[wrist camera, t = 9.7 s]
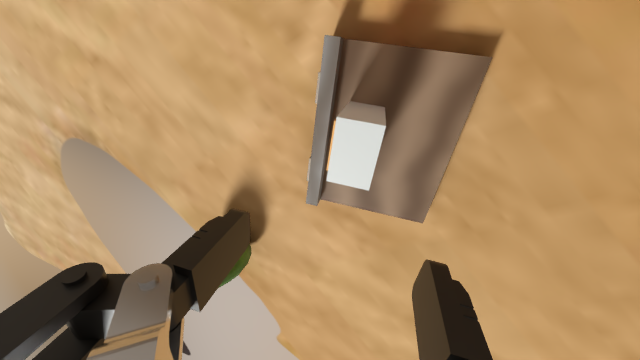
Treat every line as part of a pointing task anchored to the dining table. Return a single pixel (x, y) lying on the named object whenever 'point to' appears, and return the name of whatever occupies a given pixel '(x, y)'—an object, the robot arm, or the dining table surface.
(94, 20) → the dining table surface
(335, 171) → the tea box
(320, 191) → the shelf board
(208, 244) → the robot arm
